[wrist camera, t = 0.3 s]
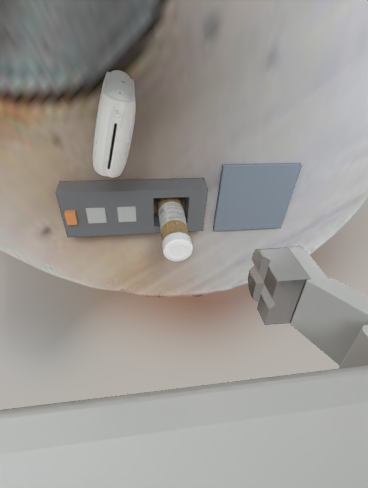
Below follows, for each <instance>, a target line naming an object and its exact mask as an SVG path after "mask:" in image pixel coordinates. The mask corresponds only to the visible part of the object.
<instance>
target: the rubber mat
mask: <svg viewBox="0 0 368 488" xmlns="http://www.w3.org/2000/svg"><path fill="white" fill-rule="evenodd" d="M301 167H302V165H301V164H300V163H278V164H223V166H222V173H221V180H220V186H219V193H218V199H217V206H216V213H215V219H214V226H213V230H214V231H226V230H247V229H267V228H281V225H282V223H283V220H284V217H285V214H286V211H287V208H288V205H289V202H290V199H291V196H292V193H293V190H294V187H295V184H296V182H297V179H298V176H299V173H300V170H301Z"/></svg>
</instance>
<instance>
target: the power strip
mask: <svg viewBox="0 0 368 488" xmlns="http://www.w3.org/2000/svg"><path fill="white" fill-rule="evenodd" d="M207 192H208V188H207V185H206V182H205V179H204V178H183V179H142V180H101V181H59V185H58V188H57V191H56V196H57V199H58V203H59V207H60V211H61V214H62V218H63V222H64V226H65V229H66V233H67V237H85V236H106V235H126V234H147V233H161V230H160V222H159V215H154V202H153V198H176V197H186V200H185V218H186V223H187V229H188V231H203V225H204V217H205V209H206V201H207Z"/></svg>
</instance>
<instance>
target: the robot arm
mask: <svg viewBox="0 0 368 488" xmlns="http://www.w3.org/2000/svg"><path fill="white" fill-rule="evenodd" d="M252 261H253V263H254V266H253V267H252V268H251V269H250V270H249V276H248V286H249V290H250V294H251V296H252V298H253V299H255V300H256V301H257V302H259V303H258V308H257V309H258V311H259V313H260V316H261V318H262V320H263V322H264V324H265V325H270V324H285V323H291V325H292V326H293V327H294V328H295V329H297V330H298V331H299V332H300V333H301V334H303V335H304V336H305V337H306V338H307V339H309V340H310V341H311V342H312V343H313V344H315V345H316V346H317V347H318V348H319V349H320V350H322V351H323V352H324V353H325V354H326V355H328V356H329V357H330V358H331V359H332V360H334V361H335V362H336V363H337V364H338V365H340V367H339V369H332V370H324V371H316V372H308V373H300V374H291V375H283V376H276V377H267V378H258V379H251V380H242V381H235V382H226V383H218V384H210V385H202V386H194V387H186V388H177V389H169V390H161V391H153V392H144V393H137V394H128V395H120V396H111V397H104V398H95V399H87V400H78V401H71V402H62V403H53V404H45V405H37V406H30V407H20V408H13V409H4V410H0V488H368V296H366V295H364V294H362V293H360V292H358V291H356V290H355V289H353V288H351V287H349V286H347V285H345V284H343V283H341V282H339V281H337V280H335V279H333V278H327V277H326V275H325V274H324V273H323V271H322V270H321V269H320V268H319V267H318V265H317V264H316V263H315V261H314V260H313V259H312V258H311V256H310V255H309V254H308V252H307V251H306V250H305V249H304V248H303V247H301V246H292V247H285V248H270V249H255V251H254V253H253V256H252Z"/></svg>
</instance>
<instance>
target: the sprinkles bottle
mask: <svg viewBox="0 0 368 488" xmlns="http://www.w3.org/2000/svg"><path fill="white" fill-rule="evenodd" d="M157 206H158V214H159V222H160V230H161V234H162V249H163V254H164V256H165V257H166V258H167V259H169V260H171V261H182V260H185V259H187V258H188V257H189V256H190V255H191V254H192V251H193V245H192V241H191V238H190V237H189V233H188V229H187V223H186V218H185V214H184V210H183V207H182V201H181V197H176V198H158V199H157Z"/></svg>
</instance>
